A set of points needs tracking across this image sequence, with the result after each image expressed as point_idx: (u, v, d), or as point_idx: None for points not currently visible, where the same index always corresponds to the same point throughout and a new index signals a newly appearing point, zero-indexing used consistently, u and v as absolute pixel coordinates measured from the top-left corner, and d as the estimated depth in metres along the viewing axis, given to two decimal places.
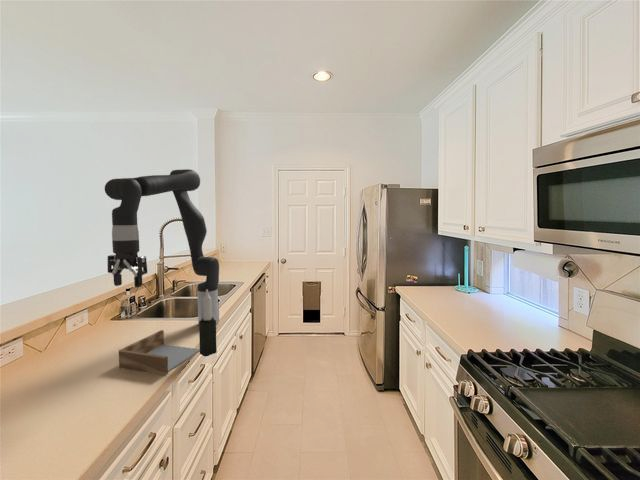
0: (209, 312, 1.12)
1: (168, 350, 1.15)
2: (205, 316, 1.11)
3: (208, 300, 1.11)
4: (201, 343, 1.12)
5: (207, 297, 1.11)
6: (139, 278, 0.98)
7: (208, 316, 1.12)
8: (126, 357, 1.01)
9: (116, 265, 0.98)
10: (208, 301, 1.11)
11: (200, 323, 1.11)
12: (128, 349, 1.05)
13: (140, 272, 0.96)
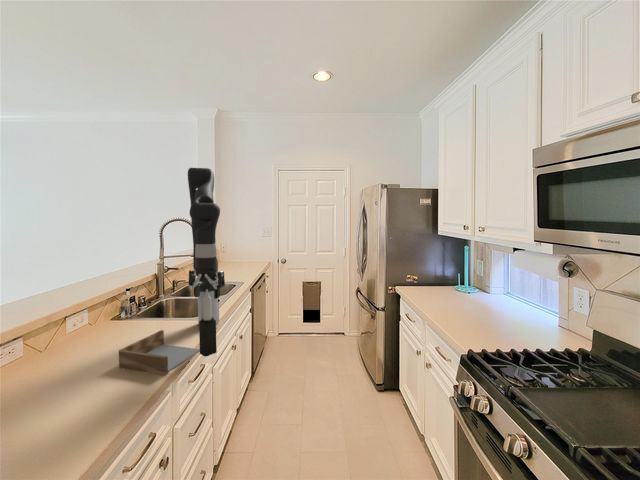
0: (209, 312, 1.12)
1: (168, 350, 1.15)
2: (205, 316, 1.11)
3: (208, 300, 1.11)
4: (201, 343, 1.12)
5: (207, 297, 1.11)
6: (218, 290, 1.10)
7: (208, 316, 1.12)
8: (126, 357, 1.01)
9: (197, 279, 1.11)
10: (208, 301, 1.11)
11: (200, 323, 1.11)
12: (128, 349, 1.05)
13: (220, 285, 1.09)
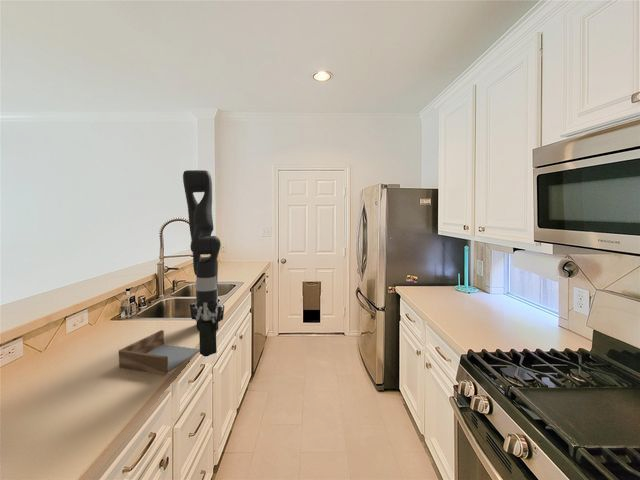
0: None
1: (168, 350, 1.15)
2: (205, 316, 1.11)
3: None
4: (201, 343, 1.12)
5: None
6: (216, 324, 1.12)
7: (208, 316, 1.12)
8: (126, 357, 1.01)
9: (199, 312, 1.11)
10: None
11: (200, 323, 1.11)
12: (128, 349, 1.05)
13: (218, 319, 1.10)
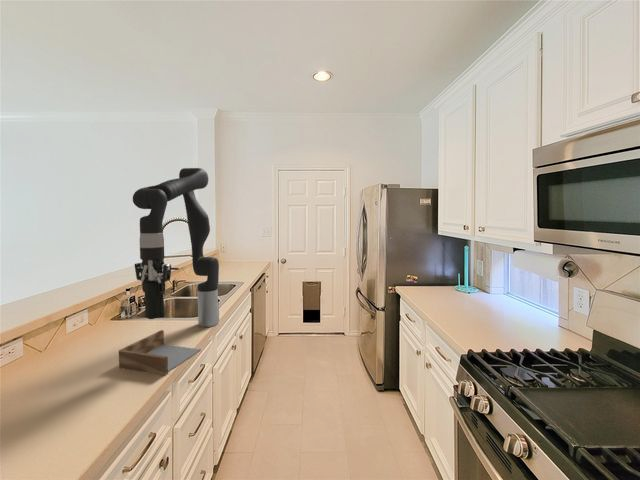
0: None
1: (168, 350, 1.15)
2: (150, 276, 1.03)
3: None
4: (146, 305, 1.04)
5: None
6: (162, 285, 1.03)
7: (153, 276, 1.03)
8: (126, 357, 1.01)
9: (144, 271, 1.03)
10: None
11: (145, 283, 1.03)
12: (128, 349, 1.05)
13: (164, 279, 1.02)
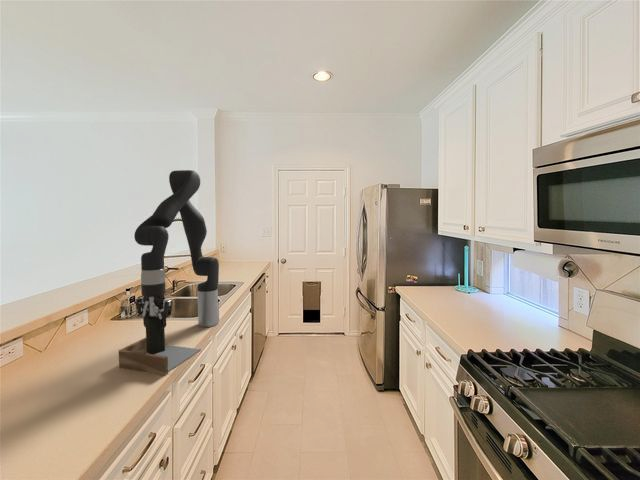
0: None
1: (168, 350, 1.15)
2: (151, 312, 1.04)
3: None
4: (147, 340, 1.04)
5: None
6: (163, 320, 1.04)
7: (154, 312, 1.04)
8: (126, 357, 1.01)
9: (145, 307, 1.04)
10: None
11: (146, 319, 1.04)
12: (128, 349, 1.05)
13: (165, 315, 1.03)
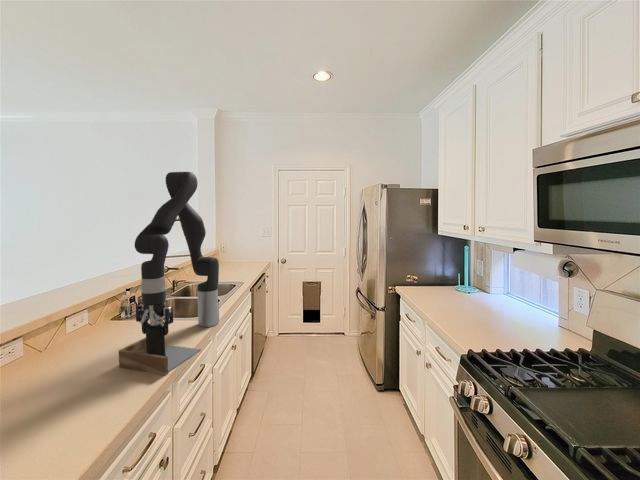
0: None
1: (168, 350, 1.15)
2: (151, 321, 1.04)
3: None
4: (148, 350, 1.05)
5: None
6: (166, 327, 1.04)
7: (154, 321, 1.05)
8: (126, 357, 1.01)
9: (144, 315, 1.04)
10: None
11: (146, 329, 1.04)
12: (128, 349, 1.05)
13: (167, 322, 1.03)
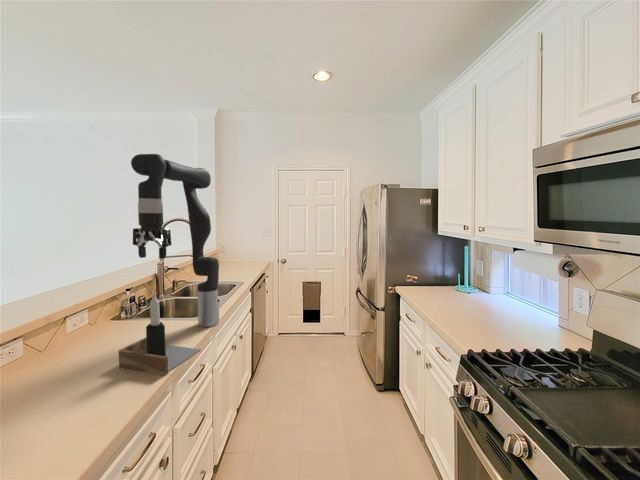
0: (156, 317, 1.05)
1: (168, 350, 1.15)
2: (152, 321, 1.04)
3: (156, 304, 1.04)
4: (148, 350, 1.05)
5: (154, 301, 1.04)
6: (163, 249, 1.02)
7: (155, 321, 1.05)
8: (126, 357, 1.01)
9: (141, 237, 1.02)
10: (155, 305, 1.04)
11: (147, 329, 1.04)
12: (128, 349, 1.05)
13: (165, 243, 1.01)
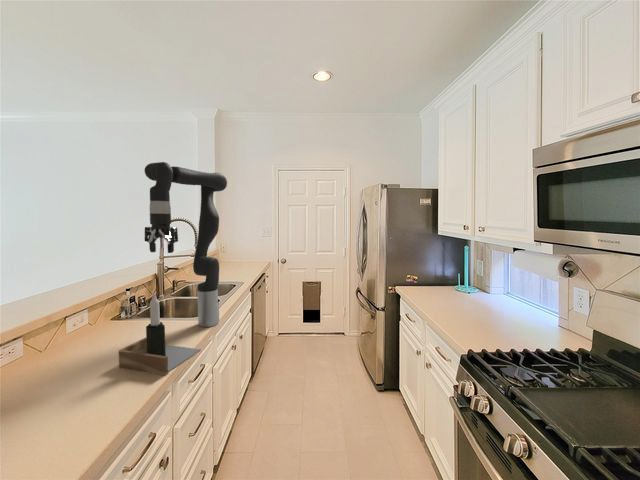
0: (156, 317, 1.05)
1: (168, 350, 1.15)
2: (152, 321, 1.04)
3: (156, 304, 1.04)
4: (148, 350, 1.05)
5: (154, 301, 1.04)
6: (171, 245, 1.18)
7: (155, 321, 1.05)
8: (126, 357, 1.01)
9: (152, 234, 1.18)
10: (155, 305, 1.04)
11: (147, 329, 1.04)
12: (128, 349, 1.05)
13: (173, 240, 1.16)
